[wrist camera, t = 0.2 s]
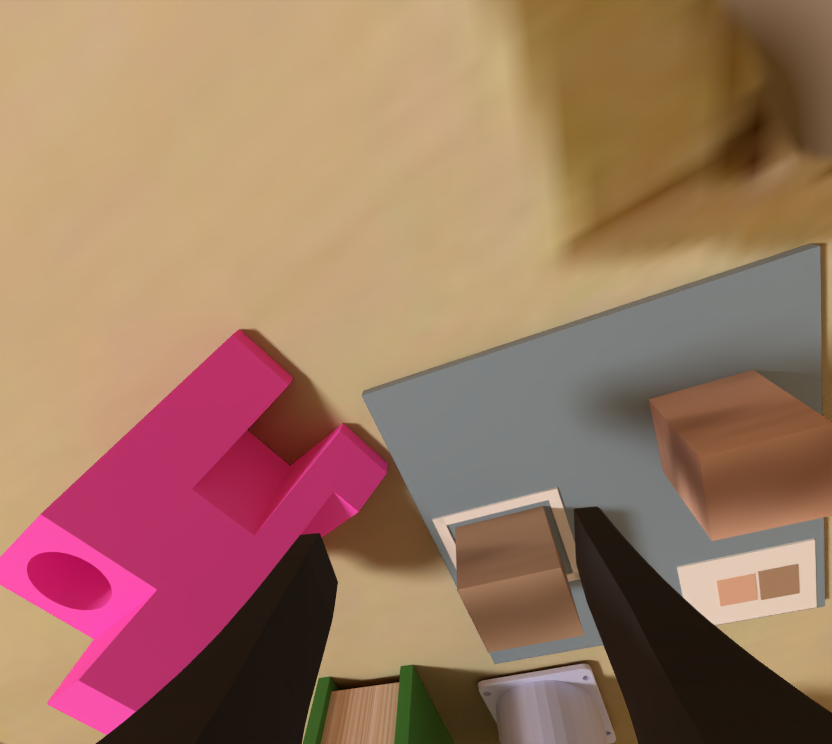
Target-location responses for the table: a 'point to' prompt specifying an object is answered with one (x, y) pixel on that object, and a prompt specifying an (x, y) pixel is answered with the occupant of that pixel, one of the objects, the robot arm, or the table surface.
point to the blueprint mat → (617, 435)
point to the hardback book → (376, 714)
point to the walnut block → (515, 581)
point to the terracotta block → (744, 454)
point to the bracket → (179, 531)
